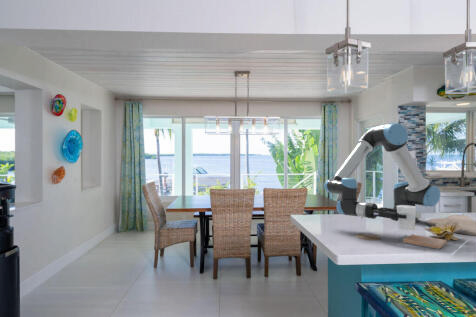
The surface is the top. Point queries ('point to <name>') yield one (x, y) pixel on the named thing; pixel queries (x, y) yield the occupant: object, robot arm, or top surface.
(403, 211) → the white cup
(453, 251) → the top surface
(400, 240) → the mat
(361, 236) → the coaster
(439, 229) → the decorative flower
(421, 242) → the tile
